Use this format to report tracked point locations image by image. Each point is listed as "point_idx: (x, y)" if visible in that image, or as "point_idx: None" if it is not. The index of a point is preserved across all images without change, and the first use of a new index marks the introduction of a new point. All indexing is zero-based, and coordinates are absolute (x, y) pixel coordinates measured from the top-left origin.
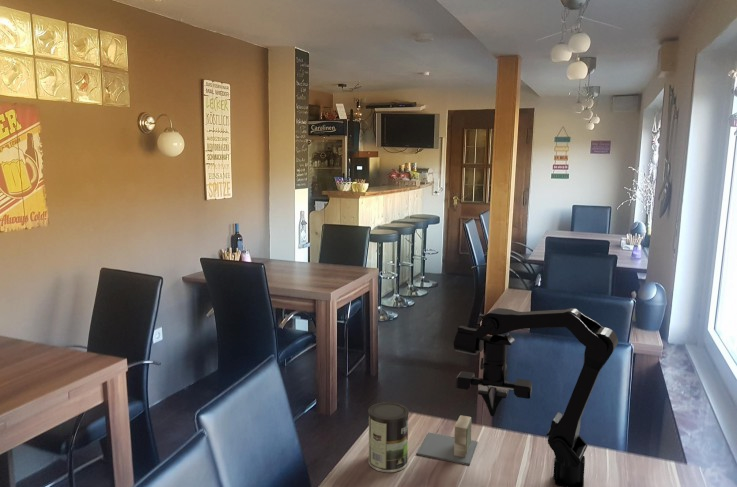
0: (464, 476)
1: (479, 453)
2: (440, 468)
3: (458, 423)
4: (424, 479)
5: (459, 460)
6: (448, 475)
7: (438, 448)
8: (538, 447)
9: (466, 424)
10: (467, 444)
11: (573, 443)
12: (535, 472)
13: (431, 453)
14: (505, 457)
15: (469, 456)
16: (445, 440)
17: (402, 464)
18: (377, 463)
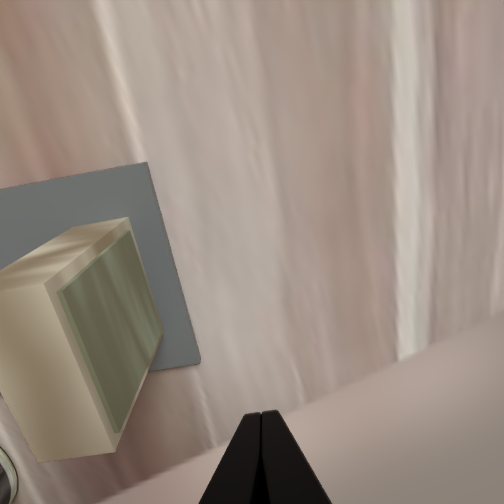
0: (216, 424)
1: (198, 252)
2: None
3: (30, 419)
4: (111, 492)
5: (154, 363)
6: (165, 443)
7: None
8: (471, 8)
9: (84, 405)
10: (147, 342)
11: None
12: (467, 273)
13: None
14: (318, 222)
15: (175, 317)
16: (5, 244)
17: (4, 501)
18: None
